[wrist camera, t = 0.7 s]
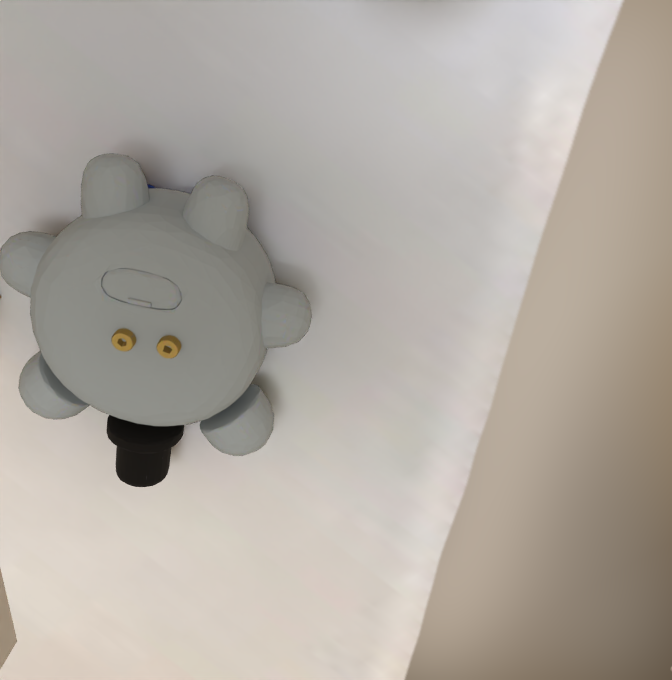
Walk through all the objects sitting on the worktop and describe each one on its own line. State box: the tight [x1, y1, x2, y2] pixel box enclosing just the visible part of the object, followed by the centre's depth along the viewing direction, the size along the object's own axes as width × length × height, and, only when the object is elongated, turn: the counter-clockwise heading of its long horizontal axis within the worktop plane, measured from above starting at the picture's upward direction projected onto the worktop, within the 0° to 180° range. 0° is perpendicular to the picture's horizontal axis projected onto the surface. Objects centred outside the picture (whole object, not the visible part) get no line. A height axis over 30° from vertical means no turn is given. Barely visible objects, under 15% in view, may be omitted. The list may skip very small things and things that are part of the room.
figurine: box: [0, 154, 312, 487], centre depth 37 cm, size 17×8×20 cm
